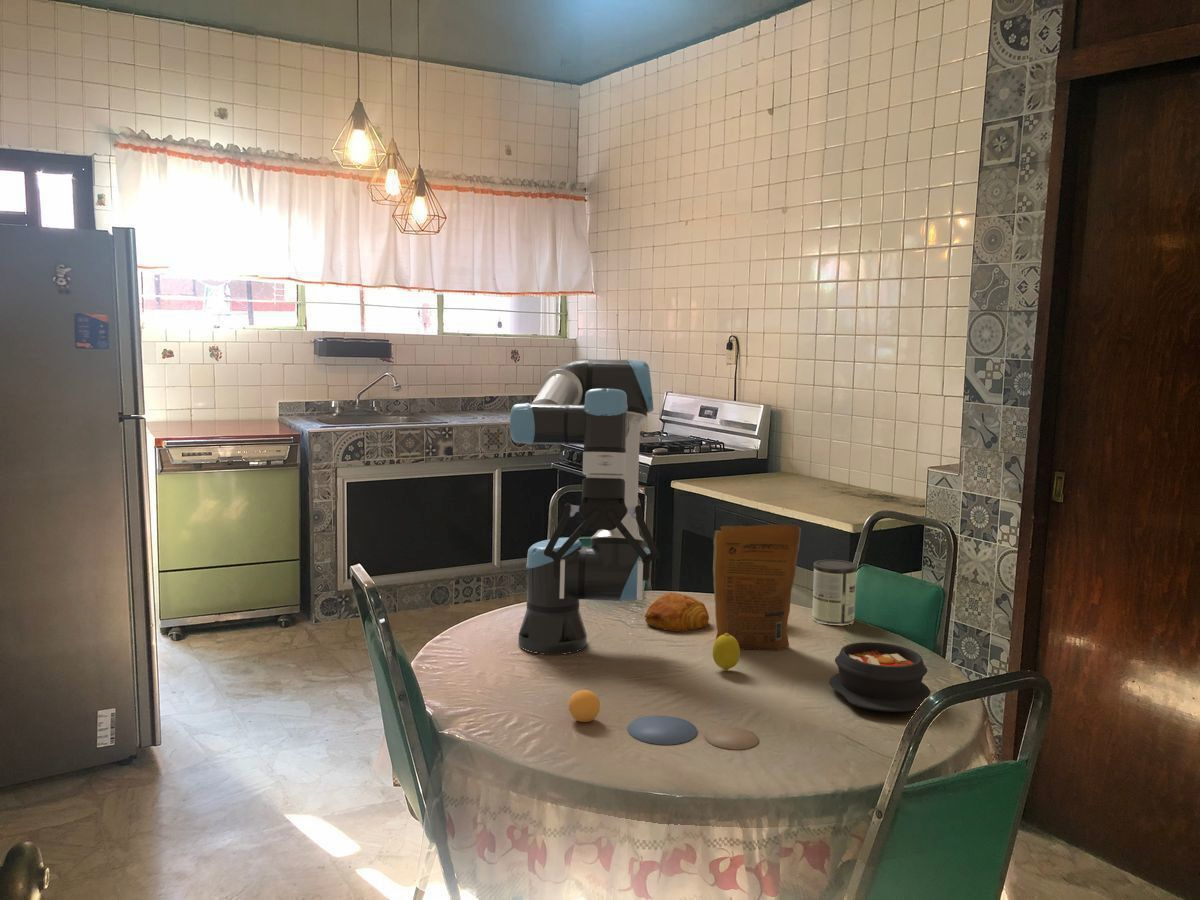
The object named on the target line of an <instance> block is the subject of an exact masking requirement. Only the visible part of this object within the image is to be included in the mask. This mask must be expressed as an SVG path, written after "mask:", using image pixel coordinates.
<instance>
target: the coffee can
mask: <svg viewBox="0 0 1200 900" xmlns="http://www.w3.org/2000/svg"><path fill="white" fill-rule="evenodd" d="M857 570H858V565H857V564H856V563H854V562H851V561H848V560H841V559H819V560H815V561H814V562H813V584H812V585H813V586H812V588H813V589H812V610H811V611H812V613H811V619H812V618H813V619H814V620H816V621H819V622H822V623H827V624H850V623H852V622H853V621H855V614H856V613H855V612H856V590H857V589H856V588H857V587H856V585H857V584H856V583H857Z"/></svg>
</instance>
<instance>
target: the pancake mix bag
mask: <svg viewBox="0 0 1200 900" xmlns="http://www.w3.org/2000/svg"><path fill="white" fill-rule="evenodd" d="M801 532H802V527H800V526H798V525H796V524H757V525H722V526H720V530H714V536H713V542H712V543H713V554H712V555H713V556H712V557H713V558H712V560H713V561H712V562H713V563H712V576H713V592H714V596H713V597H714V603H715V604H714V610H715V612H714V613H715V623H716V630H717V633H716V637H715V640H716V639H717V638H718V637H719V636H721V635H724V634H725V633H728V634H729V635H731V636H733V637H734V638H735V639H736V640H737V642H738V644H739V648H740V650H763V651H780V650H784V649H787V648H789V647H790V641H789V636H788V620H789V615H790V611H791V600H792V599H791V598H792V589H793V585H794V580H795V578H796V577H795V576H796V570H797V559H798V553H799V550H800V541H801Z"/></svg>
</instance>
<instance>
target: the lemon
mask: <svg viewBox="0 0 1200 900" xmlns="http://www.w3.org/2000/svg"><path fill="white" fill-rule="evenodd" d="M740 654H741V649H740V648H739V644H738V642H737V640H736V639H735V638H734V637H733V636H731V635H729V634H728V633H725V634H724V635H721V636H719V637H718V638H717V639H716V638H715V639H714V643H713V646H712V658H713V661H714V663H715V665H716V666H717V667H719V668H720V669H722V670H723V671H724V672H727V671H728V670H730V669H733V668H734V667H735V666H736V665H737V664H738V662H739V660H740Z"/></svg>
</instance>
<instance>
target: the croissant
mask: <svg viewBox="0 0 1200 900" xmlns="http://www.w3.org/2000/svg"><path fill="white" fill-rule="evenodd" d="M644 618H645V619H644V620H645V622H646V624H647V623H648V625H649V626H651V627H653V626H654V628H657V629H659V628H661V629H660V630H663V629H666V630H665V631H674V632H679V631H683V632H688V631H689V629H693V630H692V631H695V630H697V628H698V629H700V628H704V627H706V626H707V625H708V623H709V620H710V615H709V613H708V610H707V608H706V605H705V604H704V603H703V602H701V601H700V600H697V599H696V597H695V598H694V597H693V596H689V595H688V594H680V593H675V592H668V593H664V594H663V595H661V596H660V597H658V598H657V599H655V600H653V601H652V602H651V603H650V605H649V606H648V608H647V610H646V613H645V614H644ZM687 630H688V631H687Z"/></svg>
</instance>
